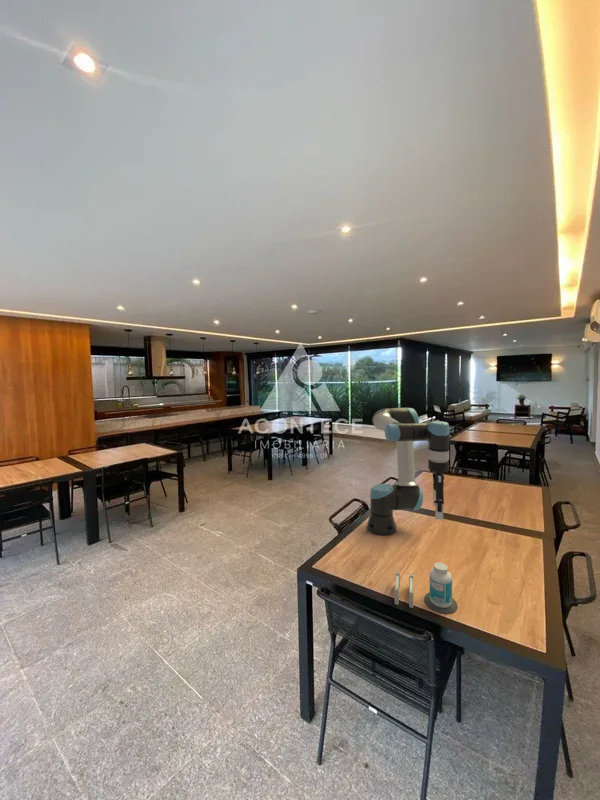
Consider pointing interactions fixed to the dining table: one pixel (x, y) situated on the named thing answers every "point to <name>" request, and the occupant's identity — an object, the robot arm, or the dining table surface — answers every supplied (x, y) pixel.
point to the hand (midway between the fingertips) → (437, 512)
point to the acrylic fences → (399, 587)
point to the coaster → (439, 609)
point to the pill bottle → (440, 586)
